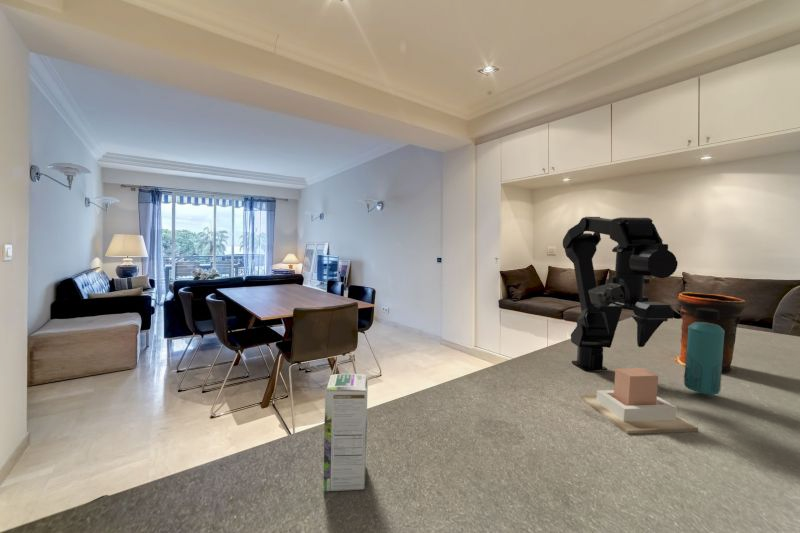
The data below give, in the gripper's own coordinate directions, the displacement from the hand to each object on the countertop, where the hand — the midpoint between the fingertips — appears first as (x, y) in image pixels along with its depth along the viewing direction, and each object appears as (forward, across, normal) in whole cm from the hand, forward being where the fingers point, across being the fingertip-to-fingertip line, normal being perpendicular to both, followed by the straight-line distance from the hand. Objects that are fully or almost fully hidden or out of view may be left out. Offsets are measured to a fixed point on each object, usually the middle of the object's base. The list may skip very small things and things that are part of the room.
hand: (624, 340), depth 80 cm
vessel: (+12, -15, +37) cm, 42 cm away
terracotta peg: (+11, +10, -5) cm, 16 cm away
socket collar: (+12, +10, -5) cm, 16 cm away
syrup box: (+12, +25, -62) cm, 68 cm away
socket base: (+12, +10, -5) cm, 16 cm away
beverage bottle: (+12, +3, +17) cm, 21 cm away
